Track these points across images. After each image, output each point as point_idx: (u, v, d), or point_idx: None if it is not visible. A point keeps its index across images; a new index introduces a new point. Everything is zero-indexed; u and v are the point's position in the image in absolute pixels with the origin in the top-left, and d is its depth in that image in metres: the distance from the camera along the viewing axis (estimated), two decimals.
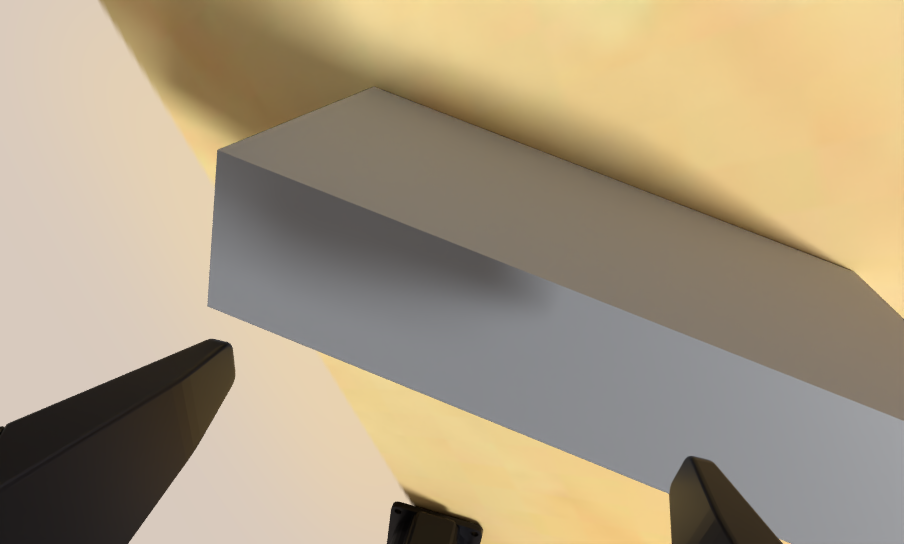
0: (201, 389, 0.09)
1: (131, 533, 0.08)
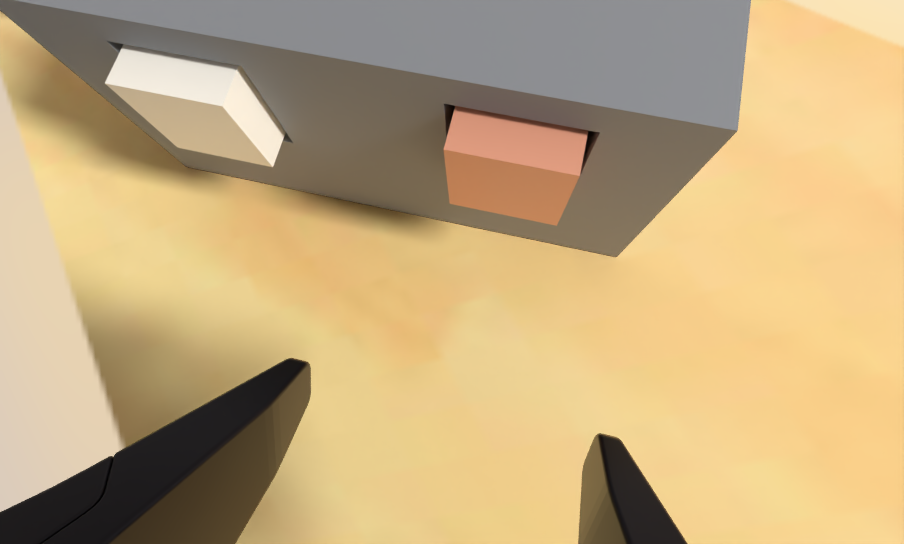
0: (286, 411, 0.09)
1: None
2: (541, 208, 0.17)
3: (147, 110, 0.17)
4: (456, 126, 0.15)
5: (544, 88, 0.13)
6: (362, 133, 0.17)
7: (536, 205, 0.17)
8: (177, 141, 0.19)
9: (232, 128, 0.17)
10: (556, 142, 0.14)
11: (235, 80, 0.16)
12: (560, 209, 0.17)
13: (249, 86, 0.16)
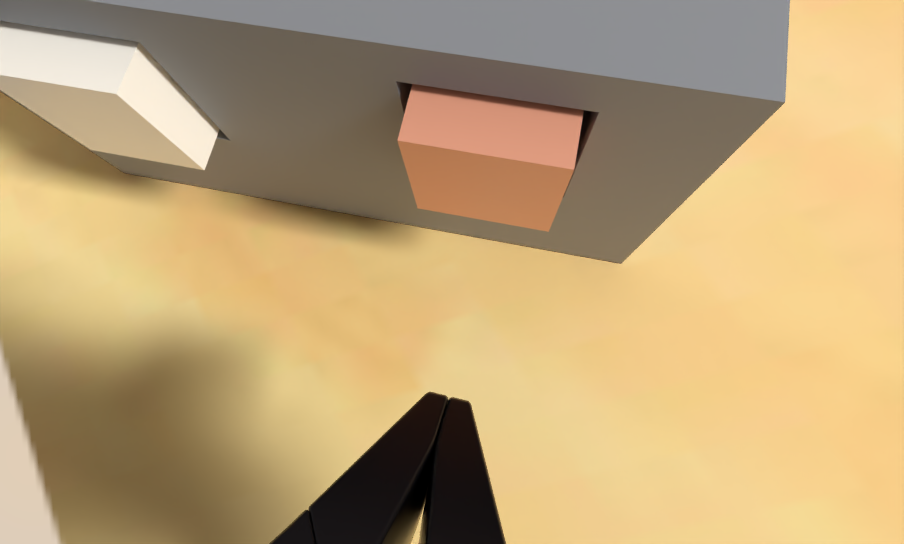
0: None
1: None
2: (528, 211, 0.14)
3: (35, 104, 0.14)
4: (413, 110, 0.11)
5: (523, 54, 0.10)
6: (305, 125, 0.14)
7: (522, 208, 0.13)
8: (87, 142, 0.16)
9: (139, 123, 0.13)
10: (542, 127, 0.11)
11: (135, 61, 0.12)
12: (551, 212, 0.13)
13: (158, 69, 0.13)
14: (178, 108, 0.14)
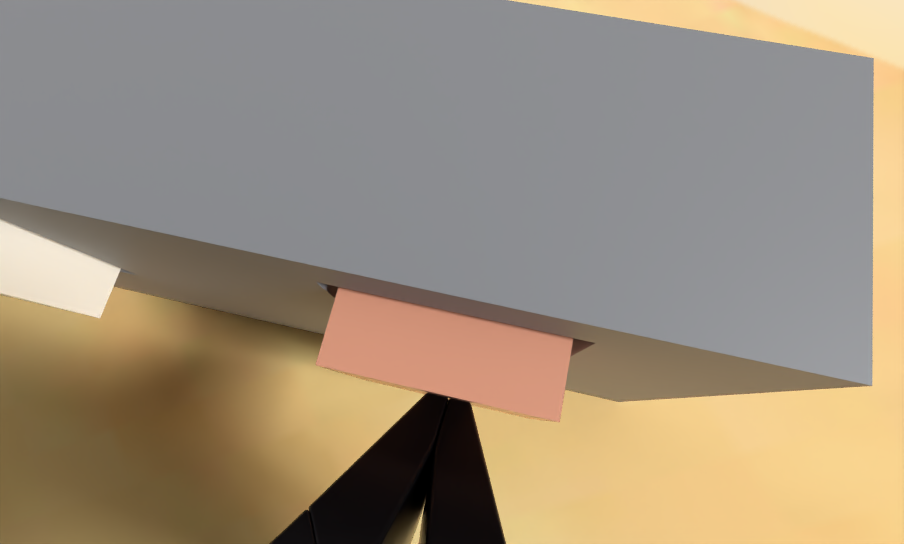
0: None
1: None
2: (502, 411, 0.10)
3: None
4: (341, 318, 0.08)
5: (487, 285, 0.07)
6: (218, 283, 0.11)
7: (493, 409, 0.10)
8: None
9: None
10: (517, 353, 0.08)
11: None
12: (532, 418, 0.10)
13: None
14: (52, 260, 0.11)
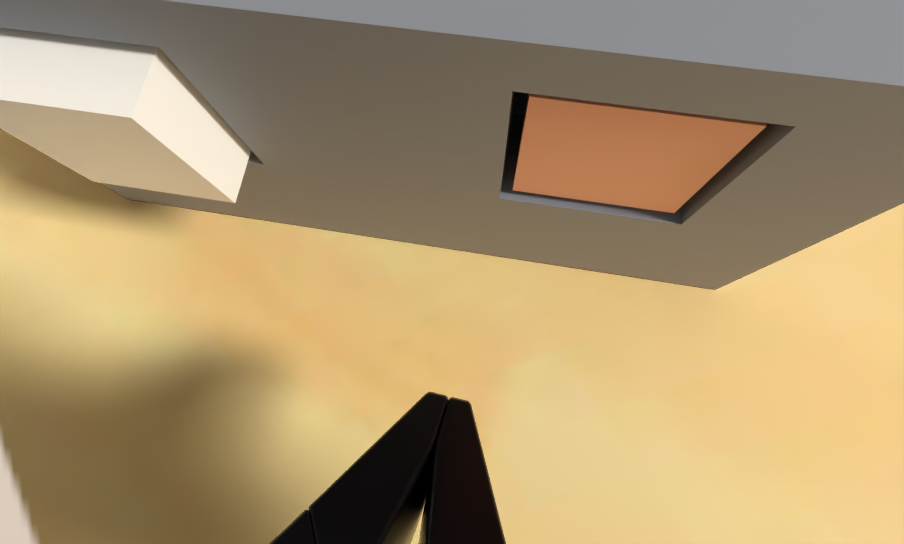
0: None
1: None
2: (662, 188, 0.11)
3: (22, 130, 0.10)
4: None
5: (716, 50, 0.07)
6: (367, 146, 0.11)
7: (656, 184, 0.11)
8: (88, 173, 0.13)
9: (159, 152, 0.10)
10: None
11: (153, 73, 0.09)
12: (694, 187, 0.11)
13: (181, 82, 0.10)
14: (205, 130, 0.11)
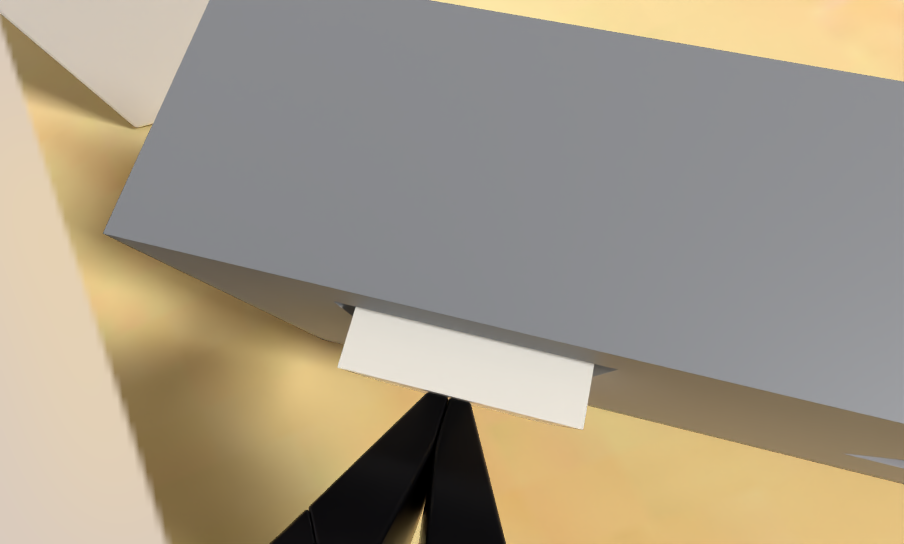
0: None
1: None
2: None
3: (384, 380, 0.09)
4: None
5: None
6: (744, 420, 0.10)
7: None
8: None
9: (546, 421, 0.09)
10: None
11: (590, 363, 0.08)
12: None
13: None
14: None
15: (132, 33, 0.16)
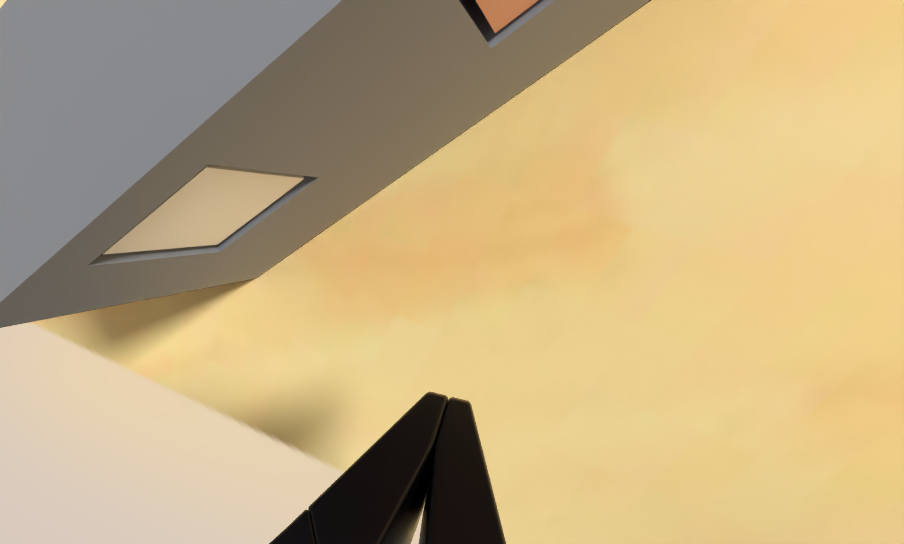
0: None
1: None
2: None
3: (159, 240, 0.14)
4: None
5: None
6: (373, 102, 0.13)
7: None
8: (211, 239, 0.16)
9: (236, 179, 0.13)
10: None
11: None
12: None
13: None
14: None
15: None
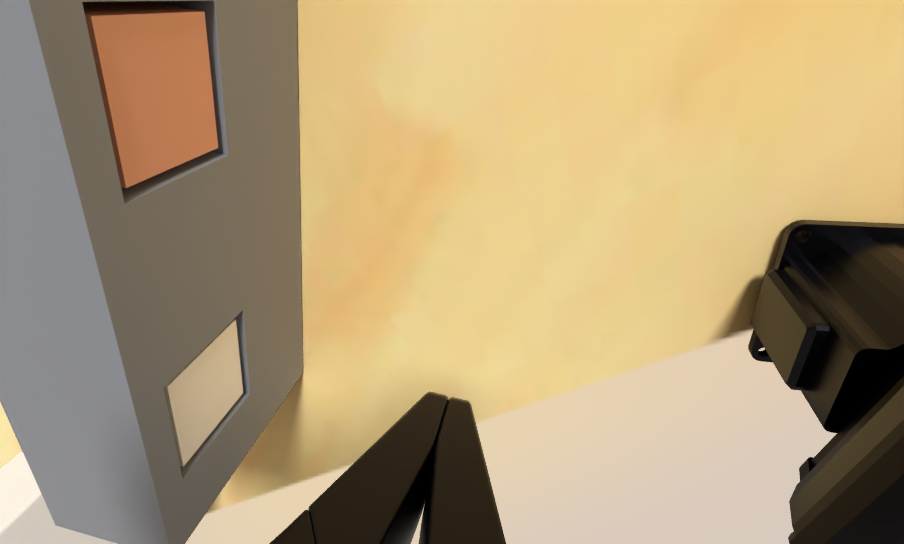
0: None
1: None
2: (179, 42, 0.14)
3: (203, 429, 0.19)
4: None
5: (44, 98, 0.10)
6: (204, 260, 0.17)
7: (176, 50, 0.13)
8: (234, 396, 0.21)
9: (195, 368, 0.18)
10: None
11: None
12: (170, 17, 0.13)
13: None
14: None
15: None
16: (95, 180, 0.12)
